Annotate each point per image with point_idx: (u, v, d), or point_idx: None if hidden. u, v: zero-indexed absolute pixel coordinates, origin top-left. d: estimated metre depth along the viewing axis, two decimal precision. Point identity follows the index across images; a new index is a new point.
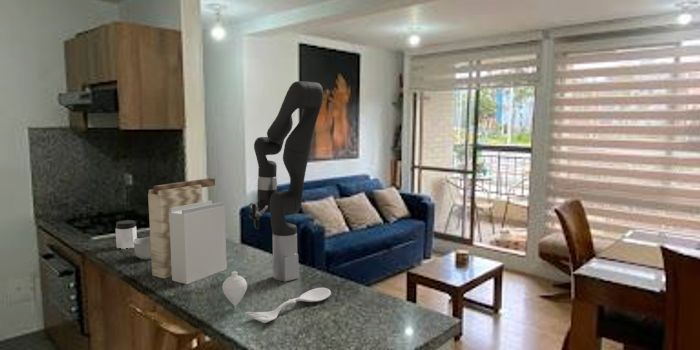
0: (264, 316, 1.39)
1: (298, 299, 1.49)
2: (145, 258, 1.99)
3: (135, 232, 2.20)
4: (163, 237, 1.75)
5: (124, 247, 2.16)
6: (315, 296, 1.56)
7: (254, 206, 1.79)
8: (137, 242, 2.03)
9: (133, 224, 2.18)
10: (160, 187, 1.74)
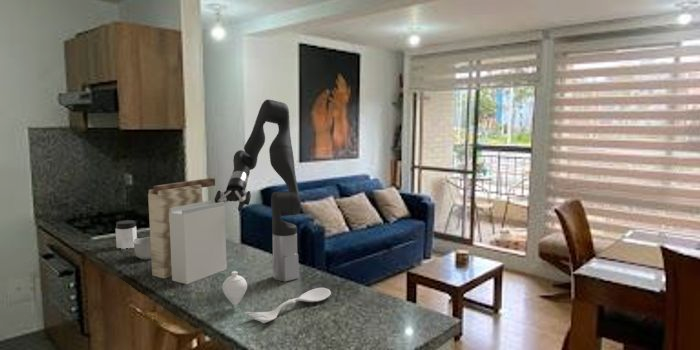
0: (264, 316, 1.39)
1: (298, 299, 1.49)
2: (145, 258, 1.99)
3: (135, 232, 2.20)
4: (163, 237, 1.75)
5: (124, 247, 2.16)
6: (315, 296, 1.56)
7: (219, 191, 1.93)
8: (137, 242, 2.03)
9: (133, 224, 2.18)
10: (160, 187, 1.74)
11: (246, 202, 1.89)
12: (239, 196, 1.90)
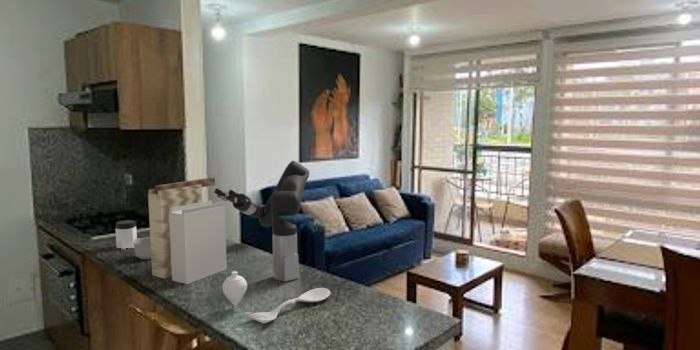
0: (263, 316, 1.38)
1: (297, 299, 1.48)
2: (145, 258, 1.99)
3: (135, 232, 2.20)
4: (163, 237, 1.75)
5: (124, 247, 2.16)
6: (314, 296, 1.56)
7: (227, 195, 2.15)
8: (137, 242, 2.03)
9: (133, 224, 2.18)
10: (162, 187, 1.75)
11: (239, 195, 2.04)
12: None
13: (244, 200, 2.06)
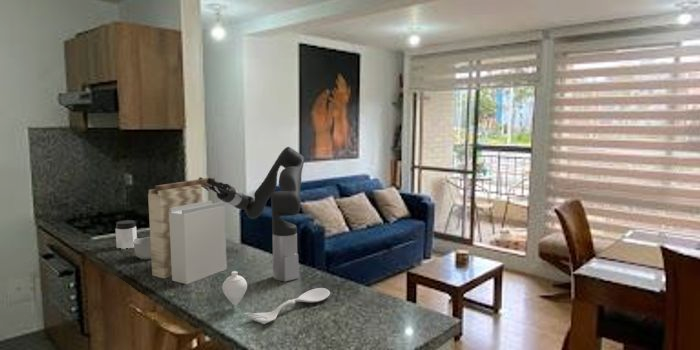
0: (263, 317, 1.38)
1: (297, 300, 1.48)
2: (145, 258, 1.99)
3: (135, 232, 2.20)
4: (163, 237, 1.75)
5: (124, 247, 2.16)
6: (314, 296, 1.56)
7: None
8: (137, 242, 2.03)
9: (133, 224, 2.18)
10: (162, 187, 1.75)
11: (218, 184, 1.95)
12: None
13: (225, 189, 1.97)
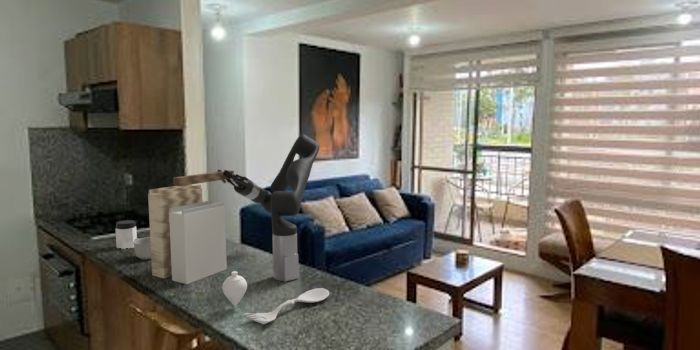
0: (263, 317, 1.38)
1: (297, 300, 1.48)
2: (145, 258, 1.99)
3: (135, 232, 2.20)
4: (163, 237, 1.75)
5: (124, 247, 2.16)
6: (313, 297, 1.55)
7: None
8: (137, 242, 2.03)
9: (133, 224, 2.18)
10: (180, 179, 1.69)
11: (235, 176, 1.90)
12: None
13: (241, 181, 1.91)
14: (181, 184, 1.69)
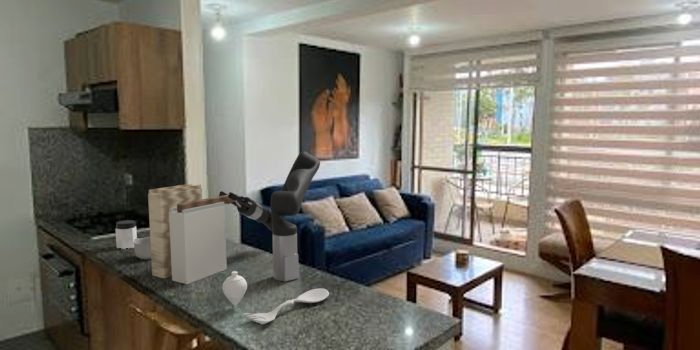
0: (262, 317, 1.38)
1: (296, 300, 1.48)
2: (145, 258, 1.99)
3: (135, 232, 2.20)
4: (163, 237, 1.75)
5: (124, 247, 2.16)
6: (313, 297, 1.55)
7: None
8: (137, 242, 2.03)
9: (133, 224, 2.18)
10: (184, 205, 1.70)
11: (240, 198, 1.90)
12: (240, 196, 1.94)
13: (246, 203, 1.91)
14: None
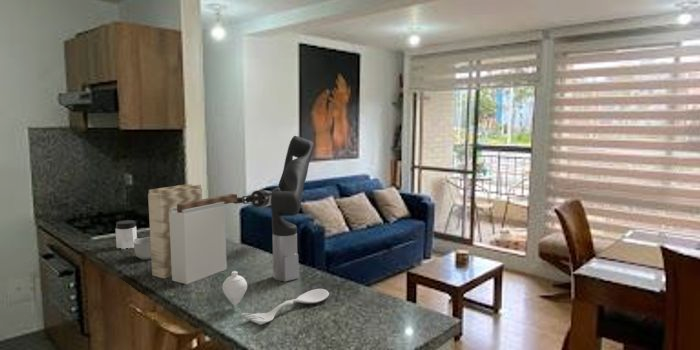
0: (260, 317, 1.38)
1: (295, 300, 1.48)
2: (145, 258, 1.99)
3: (135, 232, 2.20)
4: (163, 237, 1.75)
5: (124, 247, 2.16)
6: (313, 297, 1.55)
7: None
8: (137, 242, 2.03)
9: (133, 224, 2.18)
10: (184, 205, 1.70)
11: (259, 197, 1.98)
12: (255, 194, 2.01)
13: (265, 199, 2.01)
14: None
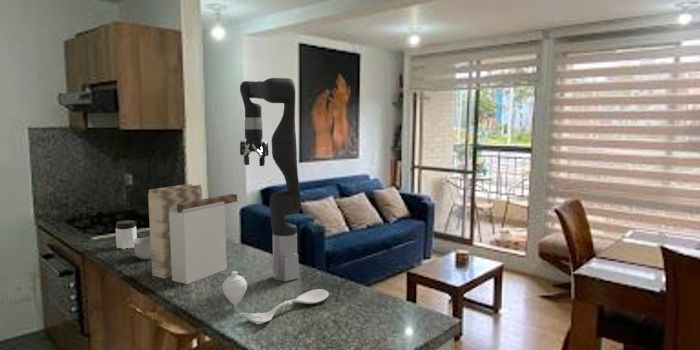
0: (259, 317, 1.38)
1: (294, 301, 1.47)
2: (145, 258, 1.99)
3: (135, 232, 2.20)
4: (163, 237, 1.75)
5: (124, 247, 2.16)
6: (312, 298, 1.54)
7: (241, 143, 2.03)
8: (137, 242, 2.03)
9: (133, 224, 2.18)
10: (184, 205, 1.70)
11: None
12: (257, 151, 1.98)
13: (267, 148, 1.99)
14: None
